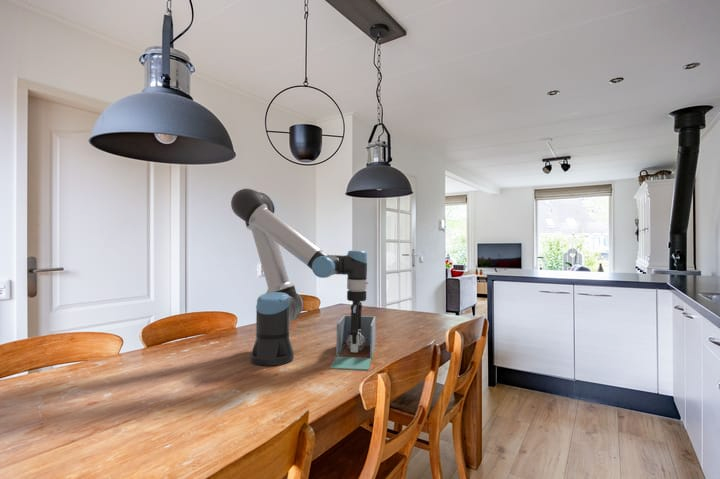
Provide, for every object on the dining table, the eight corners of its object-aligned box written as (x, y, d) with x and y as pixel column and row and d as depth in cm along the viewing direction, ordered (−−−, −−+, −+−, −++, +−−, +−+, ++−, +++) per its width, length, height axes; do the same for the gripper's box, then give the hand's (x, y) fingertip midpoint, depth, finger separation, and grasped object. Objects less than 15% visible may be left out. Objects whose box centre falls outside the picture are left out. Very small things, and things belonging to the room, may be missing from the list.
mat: (330, 368, 125) (330, 367, 125) (336, 357, 137) (336, 356, 137) (368, 370, 124) (368, 369, 124) (371, 359, 136) (371, 358, 136)
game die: (359, 362, 143) (367, 345, 138) (339, 354, 143) (346, 337, 138) (364, 346, 151) (372, 329, 145) (345, 338, 151) (352, 321, 146)
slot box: (336, 356, 138) (336, 324, 139) (343, 344, 156) (343, 315, 156) (372, 358, 137) (372, 325, 137) (375, 345, 155) (375, 316, 155)
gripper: (363, 294, 134) (362, 357, 133) (368, 287, 155) (367, 342, 154) (343, 293, 134) (342, 356, 134) (350, 286, 155) (349, 341, 155)
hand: (355, 348), depth 144 cm, fingers closed on game die, 8 cm apart
